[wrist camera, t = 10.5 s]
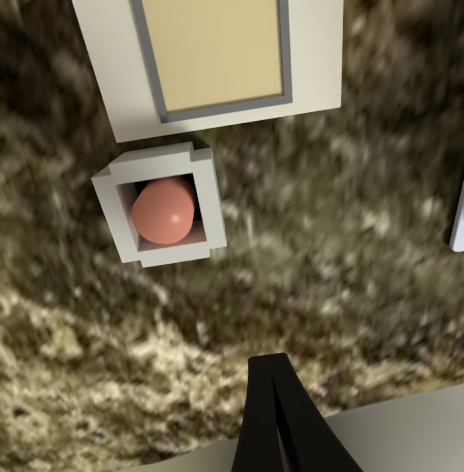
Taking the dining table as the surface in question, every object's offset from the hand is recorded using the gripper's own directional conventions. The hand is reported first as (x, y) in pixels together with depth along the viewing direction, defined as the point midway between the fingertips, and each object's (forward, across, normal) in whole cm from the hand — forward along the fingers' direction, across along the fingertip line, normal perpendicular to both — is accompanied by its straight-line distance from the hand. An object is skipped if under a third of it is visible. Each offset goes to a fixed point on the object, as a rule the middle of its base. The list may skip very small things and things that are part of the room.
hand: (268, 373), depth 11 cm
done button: (+10, +4, -4) cm, 12 cm away
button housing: (+10, +4, -4) cm, 11 cm away
